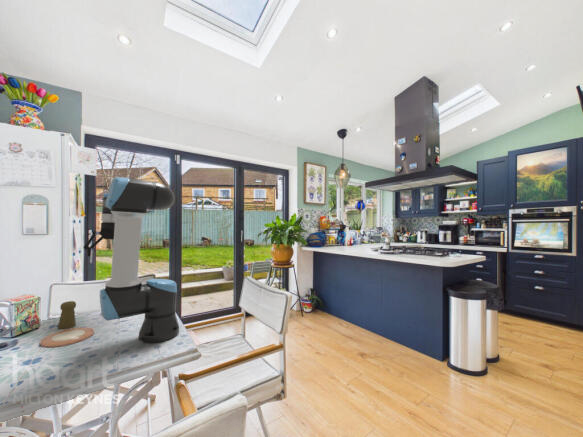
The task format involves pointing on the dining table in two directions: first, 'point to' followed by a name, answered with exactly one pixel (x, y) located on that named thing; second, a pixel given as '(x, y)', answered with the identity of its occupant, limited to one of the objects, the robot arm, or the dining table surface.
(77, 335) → the dish
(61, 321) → the cork
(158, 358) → the dining table surface
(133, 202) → the robot arm
